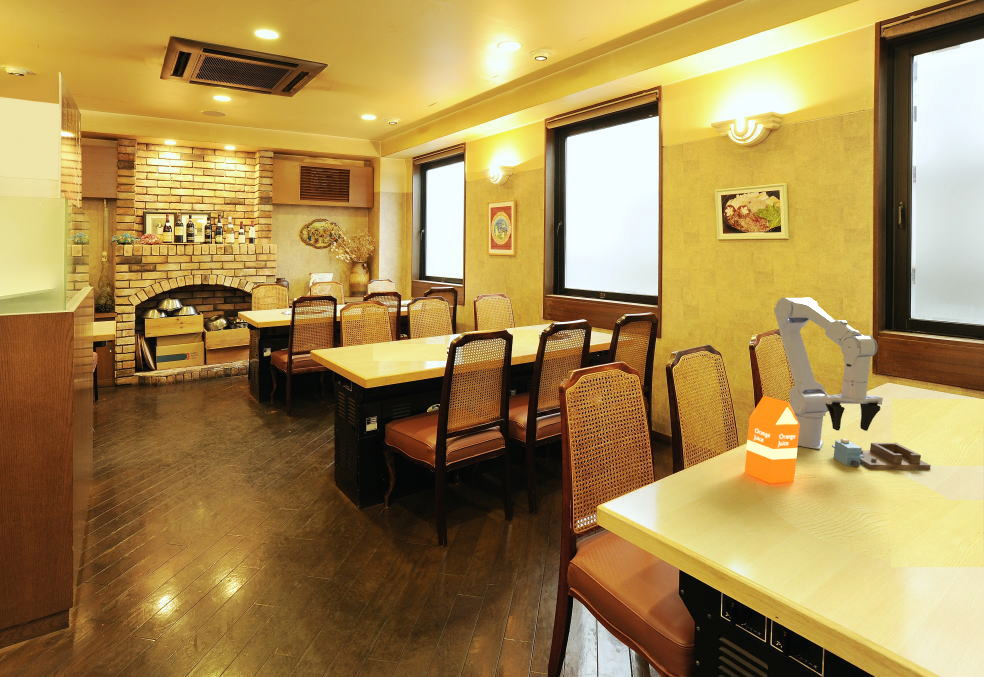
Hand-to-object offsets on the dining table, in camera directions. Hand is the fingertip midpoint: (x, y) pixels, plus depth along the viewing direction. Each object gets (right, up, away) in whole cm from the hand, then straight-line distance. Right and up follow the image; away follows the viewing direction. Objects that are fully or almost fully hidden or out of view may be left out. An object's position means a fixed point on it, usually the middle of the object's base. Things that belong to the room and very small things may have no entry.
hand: (849, 429), depth 162 cm
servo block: (0, -9, +1) cm, 9 cm away
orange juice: (-27, -11, -10) cm, 30 cm away
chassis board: (+11, -9, +2) cm, 14 cm away
